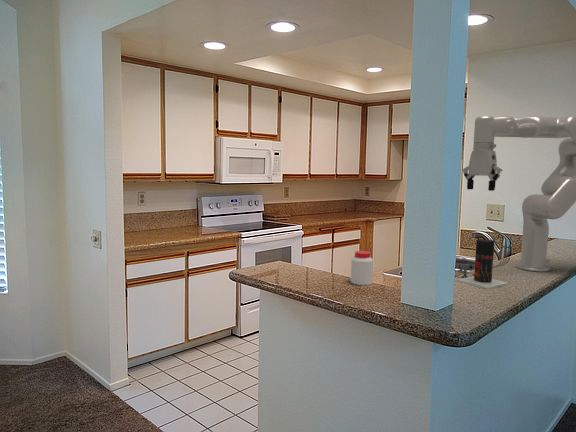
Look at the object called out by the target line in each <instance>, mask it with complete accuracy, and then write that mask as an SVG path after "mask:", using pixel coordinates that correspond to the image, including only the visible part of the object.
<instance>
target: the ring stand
mask: <svg viewBox="0 0 576 432" xmlns="http://www.w3.org/2000/svg"><path fill="white" fill-rule="evenodd" d="M455 259H456V266H455V267H454V268H455V269H459V270H457V272H458V273H461V274H463V275H461V279H462V278H468V277H469V276H468V274H467V273H468V270H475V261H473V260H471V259H457V258H455ZM472 277H474V273H472Z"/></svg>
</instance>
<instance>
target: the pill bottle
mask: <svg viewBox="0 0 576 432" xmlns="http://www.w3.org/2000/svg"><path fill="white" fill-rule="evenodd" d="M373 270H374V259H373V258H372V257H371V252H370V251H368V250H367V251H366V250H357V251H354V256H353V257H352V258H351V267H350V283H352V284H353V285H360V286H368V285H372V284H373V275H374V274H373V273H374V271H373Z"/></svg>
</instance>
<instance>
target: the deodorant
mask: <svg viewBox="0 0 576 432" xmlns="http://www.w3.org/2000/svg"><path fill="white" fill-rule="evenodd" d="M475 245H476V246H475V257H474V260H475V269H474V272H473V274H474V276H473V277H474V280H475V281H477V282H483V283H490V282H492V279H493V270H494V269H493V265H494V252H495V240H492V239H488V238H477V239H476V243H475Z"/></svg>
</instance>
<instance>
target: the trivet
mask: <svg viewBox="0 0 576 432" xmlns="http://www.w3.org/2000/svg"><path fill="white" fill-rule="evenodd" d="M457 282H459V283H462V284H466V285H470V286H473V287H478V288H481V289H484V290H490V289H494V288H500V287H504V286H508V282H506V281H502V280H497V279H493V278H492V282H490V283H483V282H477V281H475V280H474V276H470V277H469V276H468V278H462V277H461V278H458V279H457Z"/></svg>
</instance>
